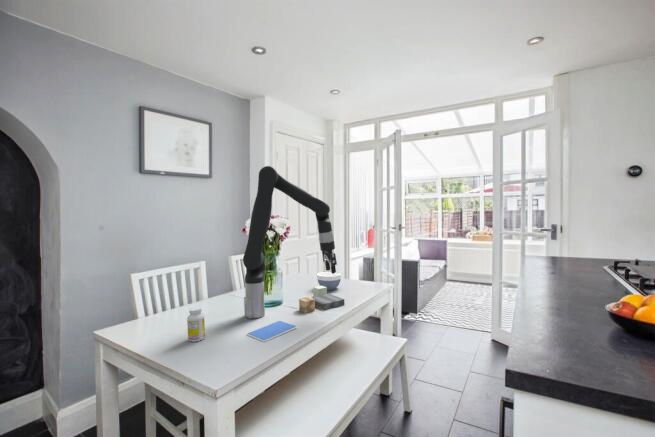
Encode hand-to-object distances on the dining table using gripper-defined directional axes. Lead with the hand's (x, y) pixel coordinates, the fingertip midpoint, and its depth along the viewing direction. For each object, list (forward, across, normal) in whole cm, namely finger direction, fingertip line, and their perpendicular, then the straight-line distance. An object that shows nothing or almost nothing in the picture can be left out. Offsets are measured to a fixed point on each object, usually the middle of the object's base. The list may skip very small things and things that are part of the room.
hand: (331, 271), depth 167 cm
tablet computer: (+17, +15, -36) cm, 43 cm away
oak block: (+19, -6, -14) cm, 25 cm away
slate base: (+20, -12, -1) cm, 24 cm away
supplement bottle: (+13, +12, -67) cm, 69 cm away
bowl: (+22, -44, +12) cm, 50 cm away
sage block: (+20, -27, 0) cm, 34 cm away
